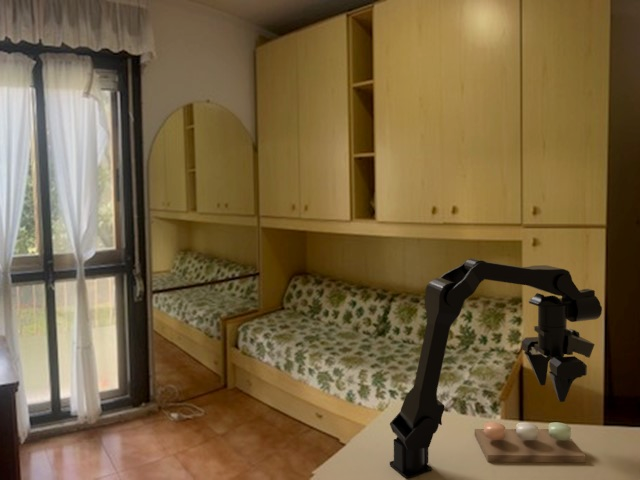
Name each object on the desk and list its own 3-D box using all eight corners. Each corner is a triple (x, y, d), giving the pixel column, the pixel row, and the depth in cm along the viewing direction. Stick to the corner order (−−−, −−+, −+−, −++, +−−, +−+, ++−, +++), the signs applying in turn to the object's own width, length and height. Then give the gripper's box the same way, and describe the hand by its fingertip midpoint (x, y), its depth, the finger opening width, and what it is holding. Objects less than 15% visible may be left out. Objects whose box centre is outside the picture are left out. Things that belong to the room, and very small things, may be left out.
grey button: (519, 440, 115) (520, 431, 115) (513, 430, 119) (513, 422, 119) (540, 440, 115) (540, 431, 114) (533, 430, 119) (533, 422, 119)
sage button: (553, 440, 114) (553, 431, 114) (545, 430, 119) (545, 422, 119) (573, 440, 114) (574, 431, 114) (565, 430, 119) (565, 422, 118)
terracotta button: (487, 440, 115) (487, 431, 115) (482, 430, 120) (482, 422, 119) (507, 440, 115) (507, 431, 115) (501, 430, 119) (502, 422, 119)
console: (487, 461, 112) (487, 454, 112) (474, 435, 124) (474, 428, 124) (585, 462, 111) (585, 454, 111) (562, 435, 123) (562, 428, 122)
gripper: (613, 334, 106) (612, 409, 108) (567, 311, 125) (567, 376, 126) (558, 337, 106) (557, 411, 108) (520, 314, 125) (520, 378, 126)
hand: (551, 393), depth 117 cm, fingers open, 9 cm apart
